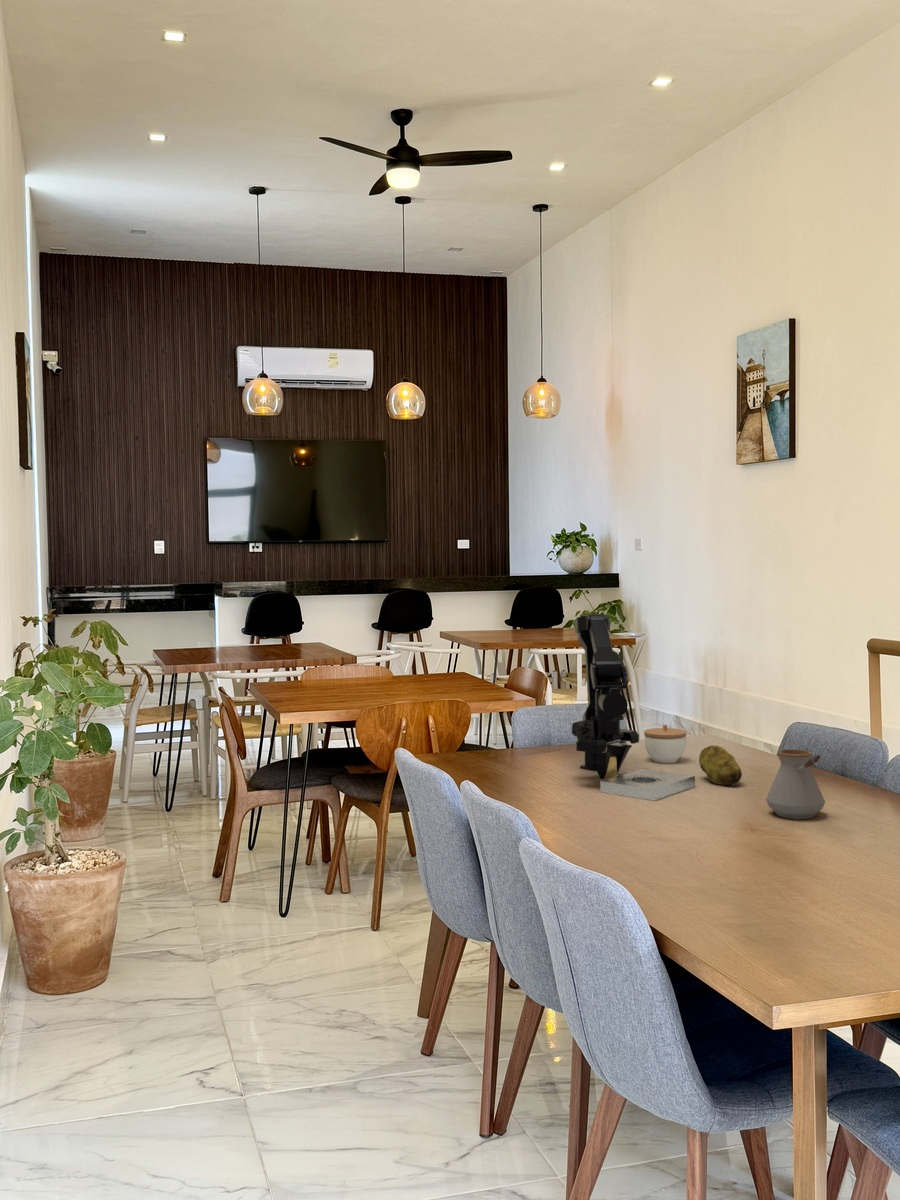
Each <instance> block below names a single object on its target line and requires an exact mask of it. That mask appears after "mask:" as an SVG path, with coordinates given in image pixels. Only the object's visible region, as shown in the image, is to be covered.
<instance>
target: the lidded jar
mask: <svg viewBox="0 0 900 1200" xmlns="http://www.w3.org/2000/svg"><path fill="white" fill-rule="evenodd" d="M643 731H644V733H643V735H644V745H645V750H646V752H647V754H648V755H649V757H650V758H651V759H652V761H653V762H654V761H655V762H654V763H660V764H674V763H678V760H680V759H681V757H682V756H683V755H684V753H685V751H686V750H685V749H686V744H687V730H684V729H680V728H671V727H668V724H662V727H655V728H654V727H653V728H647V729H645V730H643Z"/></svg>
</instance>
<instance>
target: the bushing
mask: <svg viewBox="0 0 900 1200" xmlns="http://www.w3.org/2000/svg"><path fill="white" fill-rule="evenodd" d="M616 776H618V774H617V756H616V755H610V759H609V763H608V767H607V771H606V775H605V778H604V779H600V778H599V782H600V781H603V780H606V779H609V778H612V777H616Z"/></svg>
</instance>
